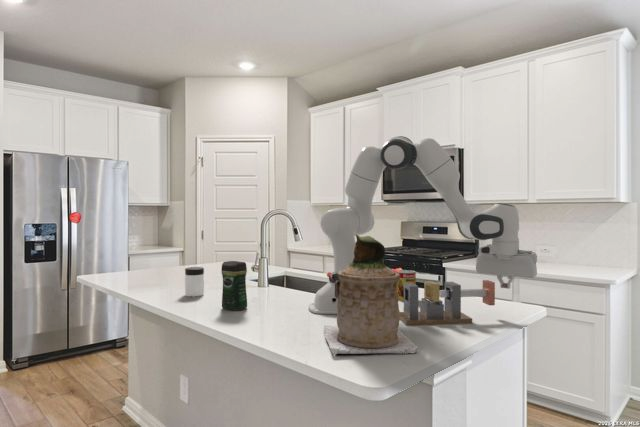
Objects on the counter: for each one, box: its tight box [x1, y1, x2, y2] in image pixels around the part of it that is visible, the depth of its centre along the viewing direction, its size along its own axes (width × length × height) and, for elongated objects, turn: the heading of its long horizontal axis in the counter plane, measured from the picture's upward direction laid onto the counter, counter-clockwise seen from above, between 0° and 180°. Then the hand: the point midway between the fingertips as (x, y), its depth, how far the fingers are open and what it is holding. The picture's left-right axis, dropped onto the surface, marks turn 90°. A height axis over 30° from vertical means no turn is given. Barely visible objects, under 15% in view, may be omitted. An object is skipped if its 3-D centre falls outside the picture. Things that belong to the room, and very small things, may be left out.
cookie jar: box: [323, 234, 418, 356], centre depth 131 cm, size 25×25×32 cm
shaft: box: [439, 279, 496, 306], centre depth 157 cm, size 19×5×8 cm, turn 96°
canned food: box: [396, 269, 417, 302], centre depth 189 cm, size 8×8×12 cm
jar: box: [184, 266, 205, 298], centre depth 201 cm, size 9×8×12 cm
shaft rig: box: [399, 281, 473, 326], centre depth 156 cm, size 23×12×12 cm, turn 96°
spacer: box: [423, 280, 440, 302], centre depth 156 cm, size 2×6×6 cm, turn 15°
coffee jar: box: [220, 260, 248, 311], centre depth 174 cm, size 10×8×19 cm
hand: (505, 288), depth 158 cm, fingers closed
